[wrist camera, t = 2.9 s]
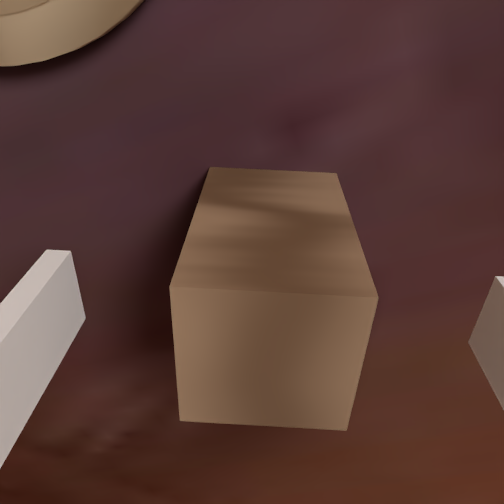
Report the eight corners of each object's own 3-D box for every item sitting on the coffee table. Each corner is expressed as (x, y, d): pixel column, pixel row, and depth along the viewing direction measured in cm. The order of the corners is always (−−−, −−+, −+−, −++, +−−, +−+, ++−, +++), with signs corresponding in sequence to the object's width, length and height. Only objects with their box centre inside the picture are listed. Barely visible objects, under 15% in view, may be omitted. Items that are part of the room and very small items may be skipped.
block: (211, 271, 20) (179, 420, 13) (209, 166, 17) (169, 286, 10) (320, 276, 20) (346, 430, 13) (336, 172, 17) (378, 297, 10)
